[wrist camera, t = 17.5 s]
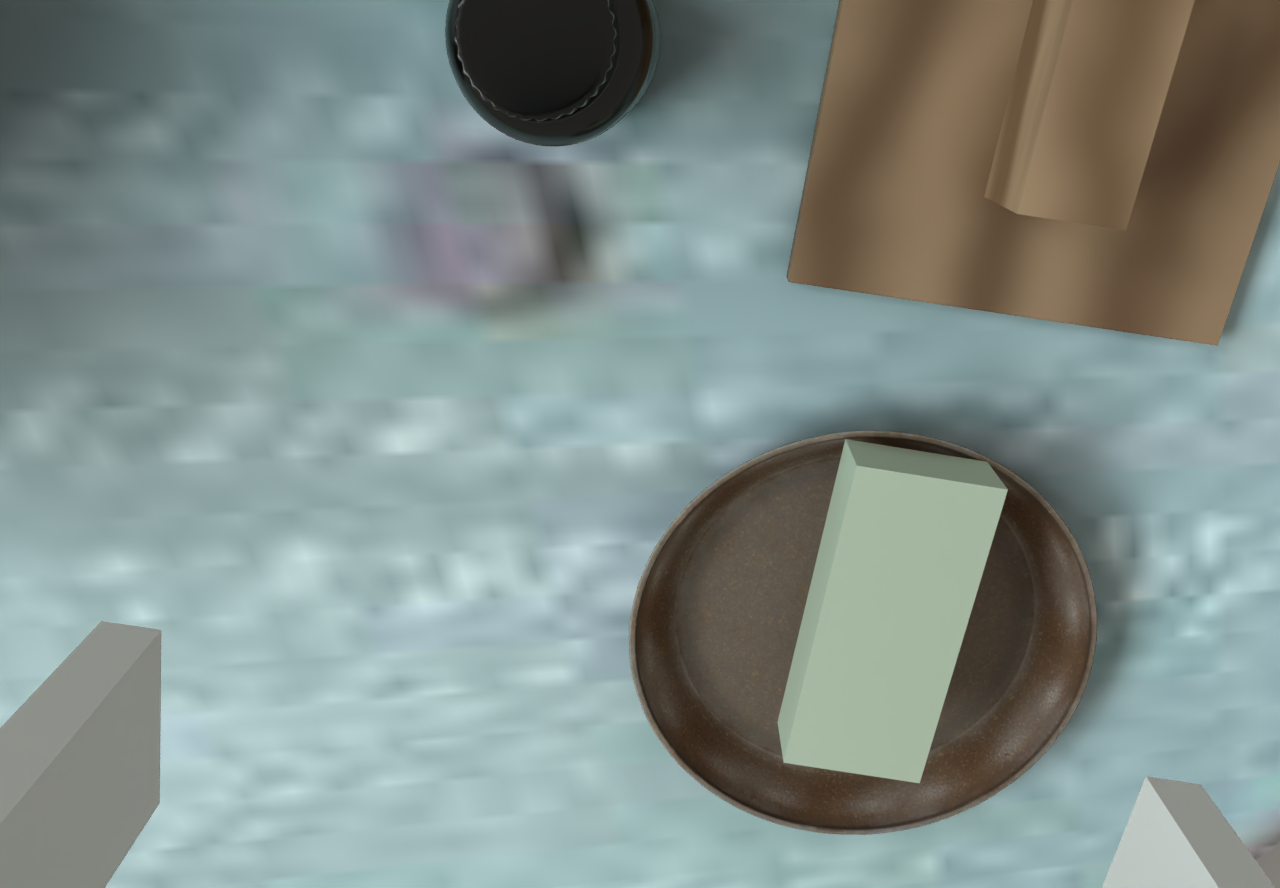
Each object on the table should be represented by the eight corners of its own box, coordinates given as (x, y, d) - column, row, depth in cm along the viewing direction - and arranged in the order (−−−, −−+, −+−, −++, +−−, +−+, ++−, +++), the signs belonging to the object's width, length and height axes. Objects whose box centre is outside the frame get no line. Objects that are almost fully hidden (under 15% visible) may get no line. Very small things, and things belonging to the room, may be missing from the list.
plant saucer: (701, 834, 57) (702, 880, 53) (573, 478, 50) (566, 508, 47) (1105, 739, 54) (1131, 782, 51) (1026, 350, 47) (1051, 372, 44)
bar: (777, 722, 50) (783, 762, 47) (845, 438, 45) (856, 465, 43) (905, 741, 50) (919, 783, 48) (987, 461, 46) (1007, 489, 43)
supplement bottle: (677, -35, 42) (678, -61, 31) (640, 146, 44) (629, 182, 33) (501, -75, 42) (437, -116, 30) (473, 109, 44) (404, 133, 33)
